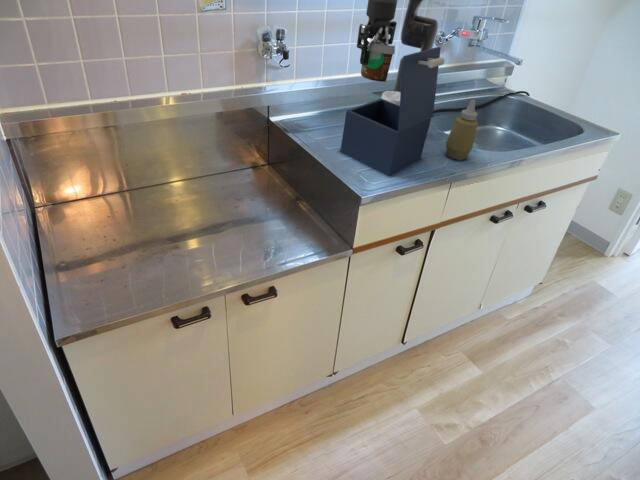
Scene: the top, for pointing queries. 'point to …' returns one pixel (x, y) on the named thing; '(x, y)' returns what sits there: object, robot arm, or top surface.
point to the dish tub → (382, 137)
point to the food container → (378, 61)
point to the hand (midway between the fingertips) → (372, 62)
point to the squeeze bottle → (462, 133)
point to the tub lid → (418, 87)
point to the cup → (392, 97)
